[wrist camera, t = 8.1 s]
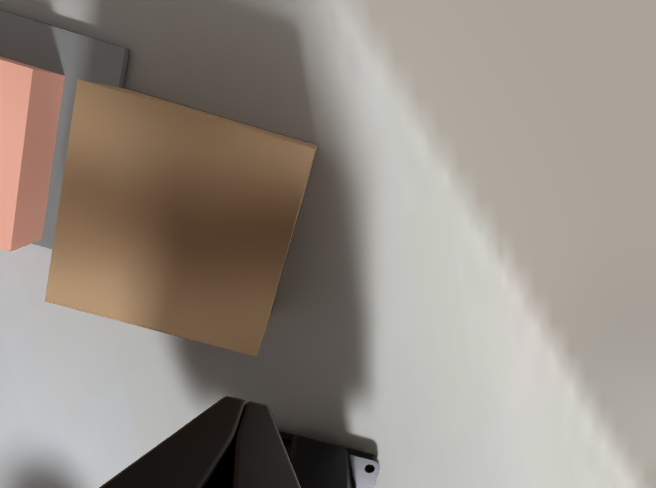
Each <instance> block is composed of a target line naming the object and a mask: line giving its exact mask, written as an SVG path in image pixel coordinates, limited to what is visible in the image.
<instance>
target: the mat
mask: <svg viewBox="0 0 656 488" xmlns="http://www.w3.org/2000/svg"><path fill="white" fill-rule="evenodd" d="M128 56H129V49H126V48H123V47H120V46H117V45H113V44H110V43H107V42H103V41H100V40H97V39H94V38H90V37H87V36H84V35H80V34H77V33H74V32H70V31H67V30H64V29H61V28H57V27H54V26H51V25H47V24H44V23H41V22H38V21H34V20H31V19H28V18H24V17H21V16H18V15H15V14H11V13H8V12H5V11H1V10H0V57H4V58H7V59H11V60H14V61H17V62H21V63H24V64H27V65H31V66H34V67H37V68H41V69H44V70H47V71H51V72H54V73H57V74H61V75H64V76H65V78H64V85H63V93H62V100H61V107H60V114H59V121H58V128H57V135H56V142H55V149H54V157H53V164H52V171H51V178H50V185H49V192H48V199H47V206H46V214H45V221H44V228H43V235H42V239H41V240H39V241H36V242H33V243H32V244H36V245H39V246H43V247H47V248H50V249H53V243H54V236H55V229H56V223H57V216H58V209H59V202H60V195H61V188H62V182H63V175H64V168H65V161H66V154H67V147H68V141H69V134H70V127H71V120H72V113H73V106H74V100H75V93H76V86H77V79H79V80H84V81H89V82H94V83H99V84H104V85H109V86H114V87H119V88H123V85H124V79H125V73H126V67H127V62H128Z"/></svg>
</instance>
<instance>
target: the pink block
mask: <svg viewBox="0 0 656 488" xmlns="http://www.w3.org/2000/svg"><path fill="white" fill-rule="evenodd" d="M64 78H65V76H64V75H61V74H57V73H54V72H51V71H47V70H44V69H41V68H37V67H34V66H31V65H27V64H24V63H21V62H17V61H14V60H11V59H7V58H4V57H0V249H4V250H8V251H12V250H15V249H18V248H20V247H23V246H26V245H28V244H31V243H33V242H36V241H39V240H41V239H42V235H43V228H44V221H45V214H46V206H47V199H48V192H49V185H50V178H51V171H52V164H53V157H54V149H55V142H56V135H57V128H58V121H59V114H60V107H61V100H62V93H63V85H64Z"/></svg>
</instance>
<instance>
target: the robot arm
mask: <svg viewBox="0 0 656 488" xmlns="http://www.w3.org/2000/svg"><path fill="white" fill-rule="evenodd" d="M368 464H371V465H373V466H372V467H366V465H368ZM379 470H380V466H379V461H378V459H377V458H376V456H374V455H371V454H367V453H363V452H359V451H355V450H351V449H347V448H344V447H341V446H337V445H333V444H329V443H325V442H321V441H317V440H313V439H309V438H305V437H301V436H296V435H292V434H288V433H284V432H280V431H278V429H277V427H276V424H275V421H274V419H273V416H272V414H271V411H270V409H269V407H268V406H267V405H264V404H260V403H255V402H248V403H247V404H246V402H245V401H244V400H242V399H237V398H233V397H229V396H226V397H224V398H222V399H221V400H219V401H218V402H217V403H215V404H214V405H213V406H211V407H210V408H208V409H207V410H206V411H204V412H203V413H202V414H200V415H199V416H197V417H196V418H195V419H193V420H192V421H190V422H189V423H188V424H186V425H185V426H184V427H182V428H181V429H179V430H178V431H177V432H175V433H174V434H172V435H171V436H170V437H168V438H167V439H166V440H164V441H163V442H161V443H160V444H159V445H157V446H156V447H155V448H153V449H152V450H150V451H149V452H148V453H146V454H145V455H143V456H142V457H141V458H139V459H138V460H137V461H135V462H134V463H132V464H131V465H130V466H128V467H127V468H126V469H124V470H123V471H121V472H120V473H119V474H117V475H116V476H114V477H113V478H112V479H110V480H109V481H108V482H106V483H105V484H103V485H102V486H101V487H99V488H373V486H374V484H375V481H376V479H377V476H378V473H379Z"/></svg>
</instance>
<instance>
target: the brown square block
mask: <svg viewBox="0 0 656 488" xmlns="http://www.w3.org/2000/svg"><path fill="white" fill-rule="evenodd" d="M317 147H318V146H317V145H314V144H310V143H307V142H304V141H300V140H297V139H294V138H290V137H287V136H284V135H280V134H277V133H274V132H270V131H267V130H263V129H260V128H257V127H253V126H250V125H247V124H243V123H240V122H237V121H233V120H230V119H227V118H223V117H220V116H217V115H213V114H210V113H206V112H203V111H200V110H196V109H193V108H190V107H186V106H183V105H180V104H176V103H173V102H170V101H166V100H163V99H159V98H156V97H153V96H149V95H146V94H143V93H139V92H136V91H133V90H129V89H124V88H119V87H114V86H109V85H104V84H99V83H94V82H89V81H84V80H79V79H77V86H76V93H75V100H74V106H73V113H72V120H71V127H70V134H69V141H68V147H67V154H66V161H65V168H64V175H63V182H62V188H61V195H60V202H59V209H58V216H57V223H56V229H55V236H54V243H53V250H52V257H51V264H50V270H49V277H48V284H47V291H46V298H45V301H46V302H49V303H53V304H57V305H61V306H65V307H68V308H72V309H76V310H80V311H84V312H87V313H91V314H95V315H99V316H103V317H106V318H110V319H114V320H118V321H122V322H125V323H129V324H133V325H137V326H141V327H144V328H148V329H152V330H156V331H160V332H163V333H167V334H171V335H175V336H179V337H182V338H186V339H190V340H194V341H198V342H201V343H205V344H209V345H213V346H217V347H220V348H224V349H228V350H232V351H236V352H239V353H243V354H247V355H251V356H255V357H257V356H258V352H259V349H260V346H261V343H262V340H263V337H264V334H265V330H266V327H267V324H268V321H269V318H270V315H271V311H272V308H273V304H274V300H275V297H276V293H277V290H278V286H279V282H280V279H281V275H282V272H283V268H284V265H285V261H286V257H287V254H288V250H289V247H290V243H291V240H292V236H293V232H294V229H295V225H296V222H297V218H298V215H299V211H300V207H301V204H302V200H303V197H304V193H305V190H306V186H307V182H308V179H309V175H310V172H311V168H312V165H313V161H314V157H315V154H316V150H317Z"/></svg>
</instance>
